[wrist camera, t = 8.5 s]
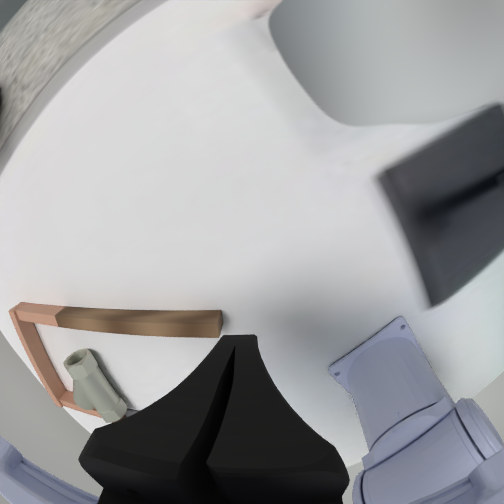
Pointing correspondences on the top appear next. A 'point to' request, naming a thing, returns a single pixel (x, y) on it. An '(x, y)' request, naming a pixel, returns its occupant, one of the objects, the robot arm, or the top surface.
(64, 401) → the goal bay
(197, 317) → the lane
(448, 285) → the top surface
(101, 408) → the pipe fitting
